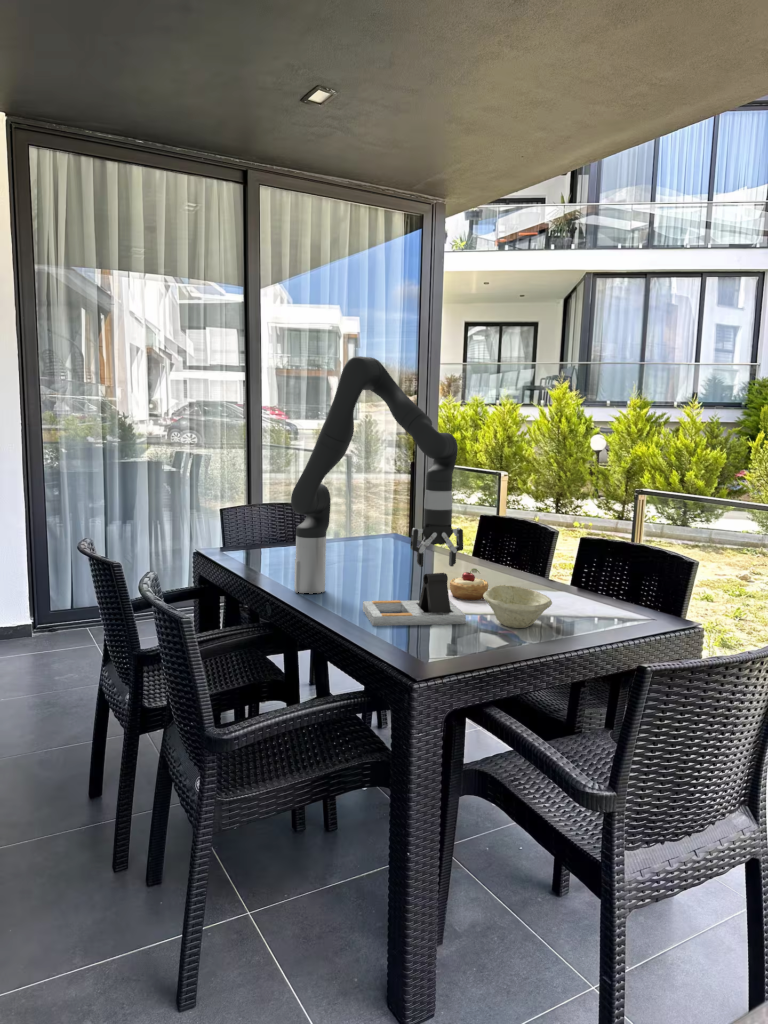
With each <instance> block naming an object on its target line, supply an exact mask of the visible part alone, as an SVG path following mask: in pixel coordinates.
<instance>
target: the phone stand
mask: <svg viewBox="0 0 768 1024" xmlns="http://www.w3.org/2000/svg"><path fill="white" fill-rule="evenodd" d="M422 580H423V581H422V583H423V584H422V588H421V592H420V596H419V600H418V601H419V605H418V606H419V607H420V608H421V609H422V610H423V611H424V612H425V613H449V612H451V610H450V602H449V600H450V596H449V588H448V580H449V579H448V574H447V573H445V572H436V573H424V574H423V578H422Z"/></svg>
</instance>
